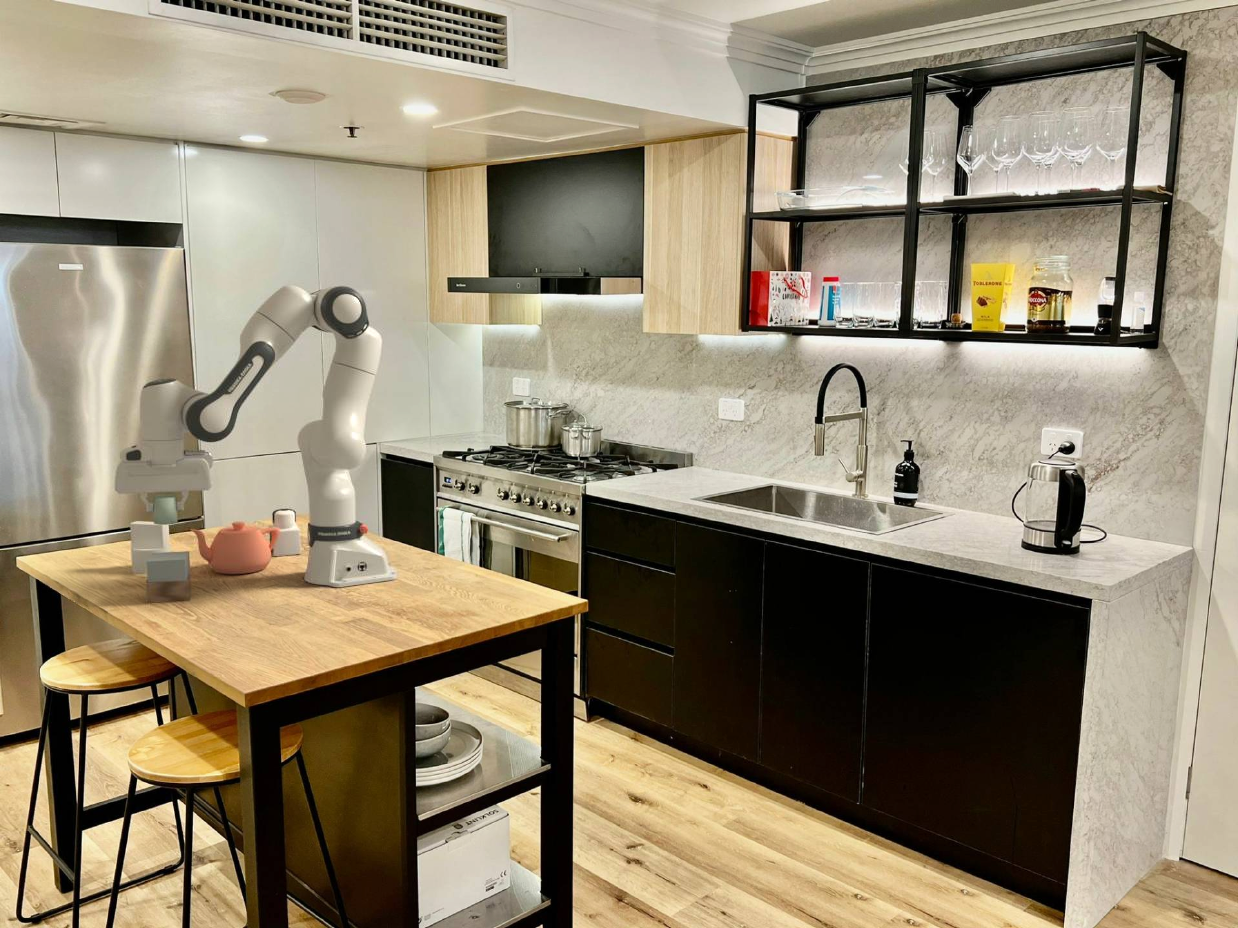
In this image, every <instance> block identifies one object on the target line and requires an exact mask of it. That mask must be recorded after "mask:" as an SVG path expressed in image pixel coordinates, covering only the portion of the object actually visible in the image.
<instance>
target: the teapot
mask: <svg viewBox="0 0 1238 928" xmlns="http://www.w3.org/2000/svg"><path fill="white" fill-rule="evenodd" d="M245 524H246V523H245V521H234V522H232V523H231V526H230V527H229V526H228V527H224V528H221V529H219V530H218V531H217V533H216V534H215V536H214V538H213V540H212V541H211V543H210V547H209V546H208V545H207V543H206V542H207V541H206V537H205V534H204V532H203V531H202V530H199V529H195V528H189V530H190V531H191V532H193V533H194V534H195V536H196V538H197V543H198V552H199V555H200V557H202V559H203V560H205V561H207V564H208V565H209V567H210V568H211V569H213V571H214V572H215V573H219V574H222V575H223V574H225V575H241V574H248V573H254V572H255V573H256V572H260V571H262V570H264V569H266V568H267V566H268V565H269V564H270V562H271V561H272V553H271V550H272V549H273V547H274V545H275V544H276V542H277V540H278V538H279V535H280V530H279V528H277V527H271V528H269V527H267V528H264V529H262V530H259V529H258V527H256V526H251V525H245ZM270 532H271V533H272V539H271V542H270V541H269V543H268V541H267V540H266V538H265V536H264V534H267V533H269V534H270Z"/></svg>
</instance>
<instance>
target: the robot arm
mask: <svg viewBox="0 0 1238 928" xmlns="http://www.w3.org/2000/svg"><path fill="white" fill-rule="evenodd" d="M311 327H312V328H314V329H316V330H318V331H321V332H324V333H331V334H333V335H334V339H335V352H334V353H333V356H332V359H331V363H330V366H329V369H328V373H327V375H326V378H325V382H324V385H323V390H322V399H323V404H322V405H323V406H322V417H321V419H318V420H313V421H311V422H308V423H306V424H305V425H304V426H302V427H301V429H300V431H299V432H298V435H297V446H298V448H299V451H300V454H301V459H302V465H303V470H304V475H305V480H306V483H307V484H306V485H307V492H308V511H309V512H308V514H309V515H308V517H309V522H308V523H307V529H306V530H307V544H308V546H309V548H308V551H309V552H308V559H307V566H306V570H305V575H304V577H303V579H304V581H306V582H307V583H309V584H313V585H320V586H328V587H332V588H343V587H350V586H357V585H365V584H372V583H379V582H385V581H394V580H396V579H397V578H398V570H397V568H395V566H393V565H391V564H389V560H388V557H387V553H386V552H385V550H384V548H383V547H381V545H379V544H377V543H375V542H374V541H373V540H371V539H370V538H368V537H367V536H366V534H367V533H368V532H369V527H368V526H367V525H366V524H364V523H362V522H361V521H358V520H357V517H356V515H357V513H356V510H357V509H356V489H355V486H354V484H353V482H352V478H351V475H350V470H353V469H355V468H357V467H358V466H360V464H361V463H363V461H364V459H365V458H366V454H367V444H366V441H365V431H366V422H367V421H366V419H367V413H368V412H367V411H368V405H369V401H370V399H371V393H372V391H373V388H374V384H375V381H376V377H377V374H378V371H379V367H380V360H381V357H382V356H381V355H382V347H383V339H382V336H381V334H380V332H378V331H377V330H376V329H375V328H373V327H372V326H370V321H369V317H368V312H367V305H366V302H365V299H364V298H363V295H361V294H360V292H358V291H357V290H356V289H354V288H352V287H349V286H345V285H341V286H336V285H335V286H328V287H326V288H324V289H320V290H317V291H314V292H311V293H308V292H307V291H306V290H305V289H303V288H301V287H300V286H296V285H293V284H287V285H284V286H282V287H280V288H279V289H277V291H275V292H274V293H273V294H272V295H270V296H269V297H268V298H267V300H265V301H264V302H263V303H262V304H261V305H260V306H259V308H257V310H256V311H255V312H254V313H253V314H252V316H250V318H249V320H248V321H247V323H246V324H245V326H244V328H243V330H242V331H241V333H240V336H239V344H240V349H239V356H238V358H237V360H236V362H235V364H234V365H233V367H232V368H231V369H230V370H229V372H228V373H227V375H225V377H224V378H223V379H222V381H221V382H220V384H219V385H218V386H217V387H216V388H215V389H214V391H212V392H210V393H206V392H203V391H200V390H197V389H194V388H192V387H191V386H190V387H189V386H187V385H186V384H184V383H182V382H180V381H179V380H178V379H175V378H163V379H162V378H161V379H157V380H152V381H149V382H147V383H146V384H145V385H143V386H142V389H141V390H140V391H141V392H140V398H139V420H140V423H141V426H142V429H141V436H140V443H138V444H136V445H132V446H130V447H129V446H128V447H125V448H123V449H121V451H120V452H119V460H120V461H119V462H118V465H117V466H116V471H115V478H114V490H115V491H116V493H118V494H119V495H121V494H122V495H123V494H139V497H140V500H141V501H142V502H143V504H144V505H145V510H146V511H145V512H146V513H153V502H152V503H151V502H150V501H148V499H147V497H148V493H152V494H153V493H167V492H168V493H172V492H174V493H175V492H177V493H178V492H181V496H182V498H181V500H180V501H177V512H181V511H182V512H183V511H185V502H186V501H187V499H188V498H189V496H190V495H189V492H196V491H197V492H202V491H209V490H211V488H212V486H213V482H212V473H211V469H212V468H213V465H214V463H213V462H214V460H213V459H214V458H213V455H212V454H211V452H208V451H206V450H205V449H200V450H194V449H193V450H192V449H191V450H189V449H188V450H186V449H185V444H184V443H185V441H184V440H185V439H184V435H185V434H186V433H190V434H191V435H192V436H193V437H194V438H195V439H197V440H199V441H200V442H204V443H217V442H220V441H222V440H224V439H226V438H227V437H228V436H229V435H230V434H231V433H232V432H233V430H234V428H235V425H236V422H237V419H238V414H239V411H240V409H241V407H242V405H243V404H244V403H245V401H246V400H247V399H248V397H249V396H250V395H251V393H252V392H253V390H254V389H255V388H256V387H257V385H258V384H259V383H260V381H261V380H262V378H263V377H265V376H264V375H265V374H266V373H267V372H268V371H269V370H270V369H271V368H272V367H273V366H274V365H275V364H276V363H277V362H278V361H279V360H280V359H281V358H282V357H283V356H285V354H286V353H287V352H288V351H289V350H290V349H291V347H293V345H294V344H295V343H296V341H297V340H298V339H299V338H300V337H301V335H302V333H303V332H305V331H306V330H307V329H309V328H311Z"/></svg>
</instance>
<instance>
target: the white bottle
mask: <svg viewBox="0 0 1238 928" xmlns="http://www.w3.org/2000/svg"><path fill="white" fill-rule="evenodd" d="M271 515H272V525H270V526H269V527H268V528H271V527H277V528H279V530H280V535H279V538H278V540H277V542H276V544H275V545H274V547H273V549H272V550H271V556H272V557H274V556H278V557H288V556H287V555H290V556H297V555H296V554H300V555H301V554H302V553H301V529H300V527H298V525H297V517H296V516H297V513H296V511H295V510H294V509H291V508H280V509H275V510H274V511H273V512H272V513H271ZM271 539H272V533H271V532H269V543H270V542H271Z"/></svg>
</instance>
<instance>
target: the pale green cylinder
mask: <svg viewBox="0 0 1238 928" xmlns="http://www.w3.org/2000/svg"><path fill="white" fill-rule="evenodd" d="M177 502H178V496H177V495H176V494H157V495H153V496H152V503H153V512H152V513H153V514H152V515H153V522H154V524H158V525H168V524H169V525H173V524H178V521H179V520H178V517H179V516H178V511H177Z"/></svg>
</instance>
